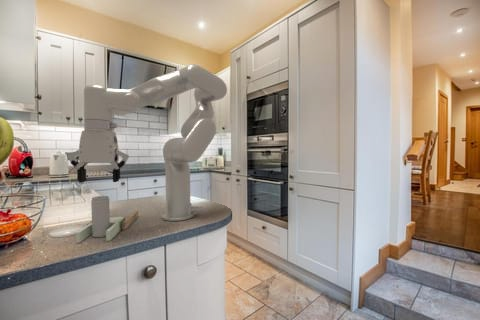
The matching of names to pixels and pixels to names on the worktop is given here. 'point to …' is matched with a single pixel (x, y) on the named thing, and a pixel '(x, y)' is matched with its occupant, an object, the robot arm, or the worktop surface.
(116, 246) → the worktop surface
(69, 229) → the ceramic coaster
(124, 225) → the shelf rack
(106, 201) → the beverage can
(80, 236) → the sliding holder
